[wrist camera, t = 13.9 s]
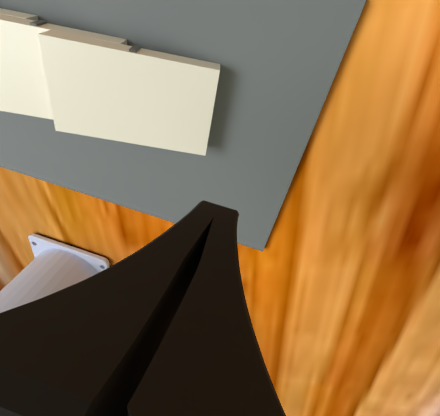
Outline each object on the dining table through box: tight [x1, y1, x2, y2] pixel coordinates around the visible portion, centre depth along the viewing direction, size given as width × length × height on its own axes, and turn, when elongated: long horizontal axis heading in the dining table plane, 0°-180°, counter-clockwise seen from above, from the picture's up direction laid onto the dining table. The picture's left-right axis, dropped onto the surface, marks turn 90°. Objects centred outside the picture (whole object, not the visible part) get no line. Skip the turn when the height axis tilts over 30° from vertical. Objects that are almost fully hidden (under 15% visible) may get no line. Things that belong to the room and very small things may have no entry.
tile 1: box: [38, 30, 220, 156], centre depth 15 cm, size 5×1×8 cm
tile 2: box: [0, 14, 127, 120], centre depth 15 cm, size 5×1×8 cm
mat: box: [0, 0, 366, 251], centre depth 18 cm, size 15×34×1 cm, turn 79°
